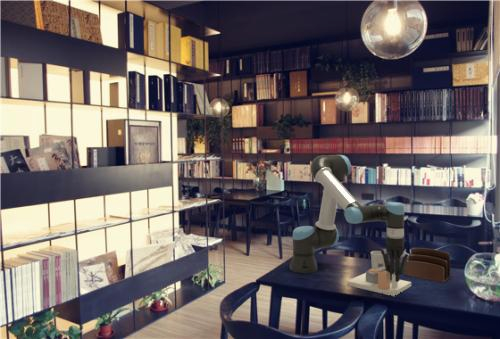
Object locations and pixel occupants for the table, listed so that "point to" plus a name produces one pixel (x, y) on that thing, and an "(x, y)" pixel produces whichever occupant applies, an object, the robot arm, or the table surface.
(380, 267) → the translucent flat bar
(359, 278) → the board
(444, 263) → the letter holder
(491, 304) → the table surface
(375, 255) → the cup
